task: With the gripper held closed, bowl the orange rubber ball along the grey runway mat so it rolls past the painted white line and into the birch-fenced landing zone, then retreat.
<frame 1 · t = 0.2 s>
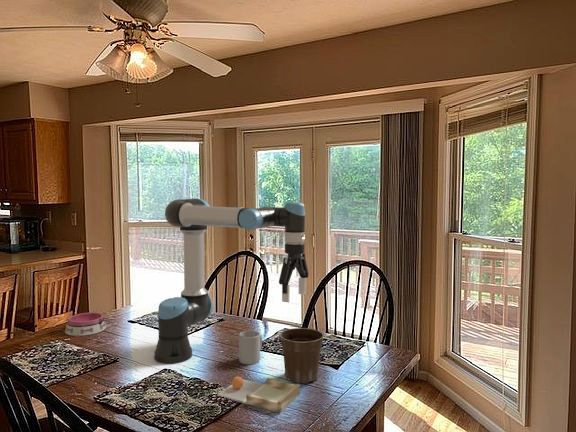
hand: (294, 297, 172), 28 cm above the table, fingers open, 13 cm apart
ball: (237, 382, 154), point 3 cm above the table, touching runway
fence: (258, 395, 151), resting on runway
mug: (252, 359, 182), on the table
runway: (258, 395, 151), on the table
dog bowl: (86, 331, 217), on the table
plant pot: (301, 377, 166), on the table
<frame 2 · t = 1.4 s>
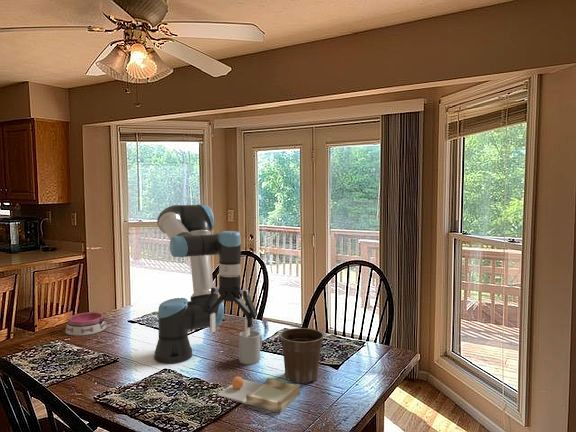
hand: (229, 333, 159), 18 cm above the table, fingers open, 13 cm apart
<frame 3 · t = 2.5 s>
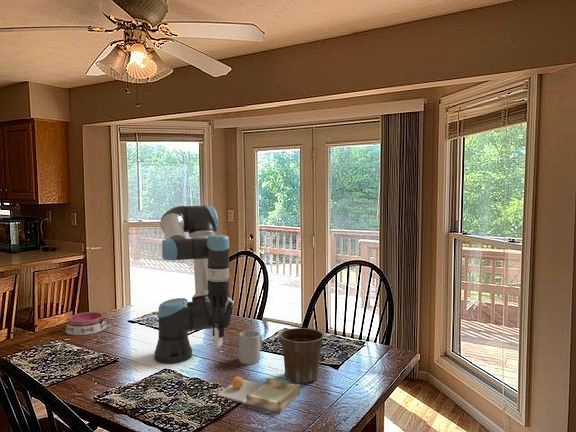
hand: (218, 345, 157), 14 cm above the table, fingers closed
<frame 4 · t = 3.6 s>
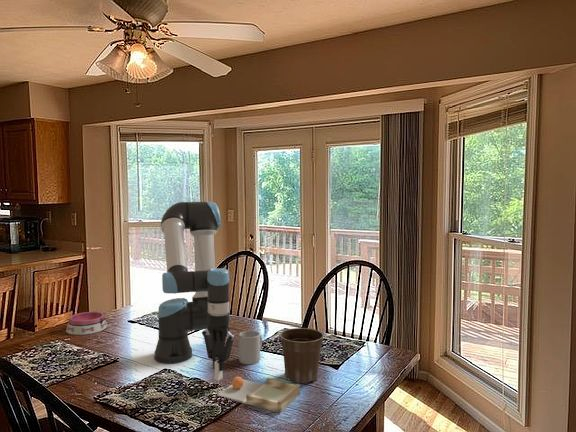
hand: (218, 378, 158), 2 cm above the table, fingers closed
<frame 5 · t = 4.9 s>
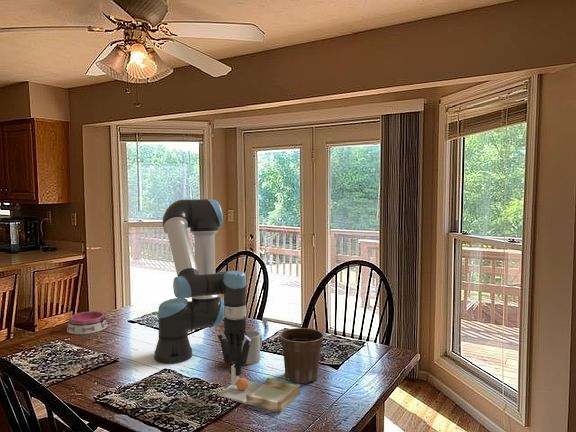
hand: (235, 383, 154), 2 cm above the table, fingers closed
ball: (242, 383, 153), point 3 cm above the table, tilted 55°, touching runway
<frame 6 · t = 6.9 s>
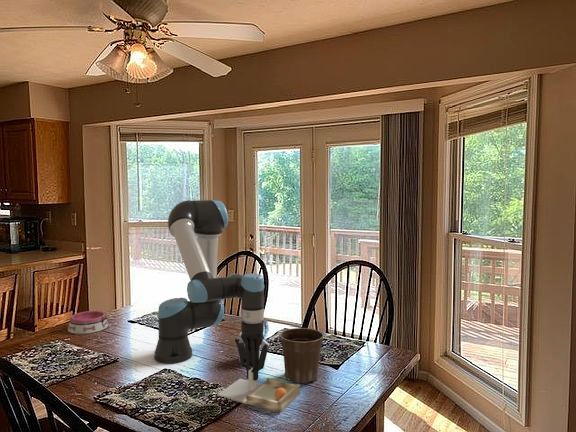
hand: (252, 388, 152), 2 cm above the table, fingers closed
ball: (280, 394, 146), point 3 cm above the table, tilted 130°, touching runway
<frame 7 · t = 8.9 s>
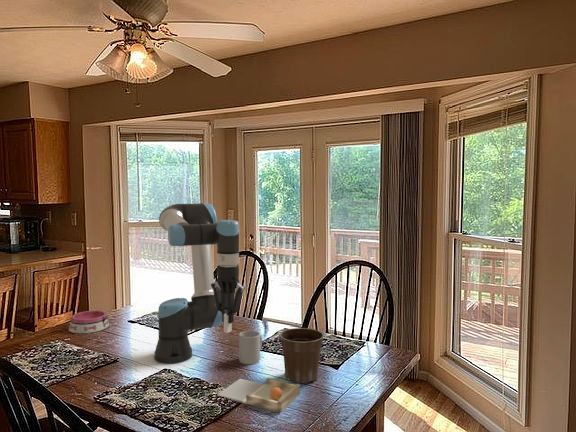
hand: (227, 331, 156), 20 cm above the table, fingers closed
ball: (275, 393, 146), point 3 cm above the table, tilted 83°, touching runway
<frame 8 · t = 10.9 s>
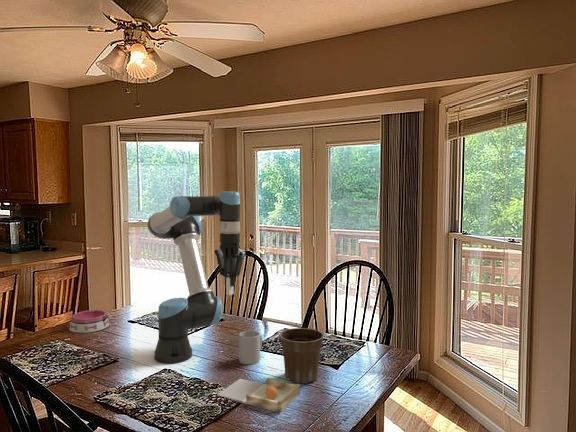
hand: (229, 294, 169), 29 cm above the table, fingers closed
ball: (271, 392, 147), point 3 cm above the table, tilted 37°, touching runway
at the end: ball inside the target area on the runway (1.2 cm from its centre), point 2.6 cm above the runway's base; ball moved 13.9 cm from its start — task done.
